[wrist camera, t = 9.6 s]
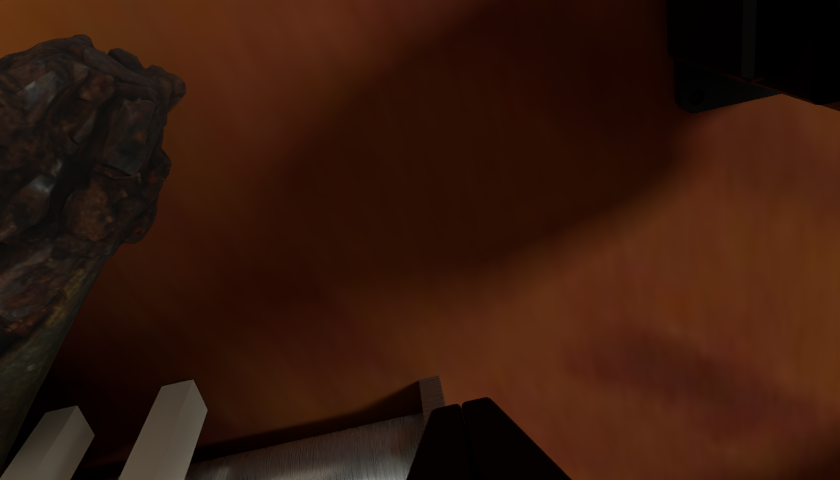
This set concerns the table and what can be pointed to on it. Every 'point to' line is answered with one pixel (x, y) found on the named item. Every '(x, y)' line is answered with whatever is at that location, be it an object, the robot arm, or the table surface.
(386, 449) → the air tube
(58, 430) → the grey staple-shaped bracket
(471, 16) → the table surface
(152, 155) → the dark piece
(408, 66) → the table surface
